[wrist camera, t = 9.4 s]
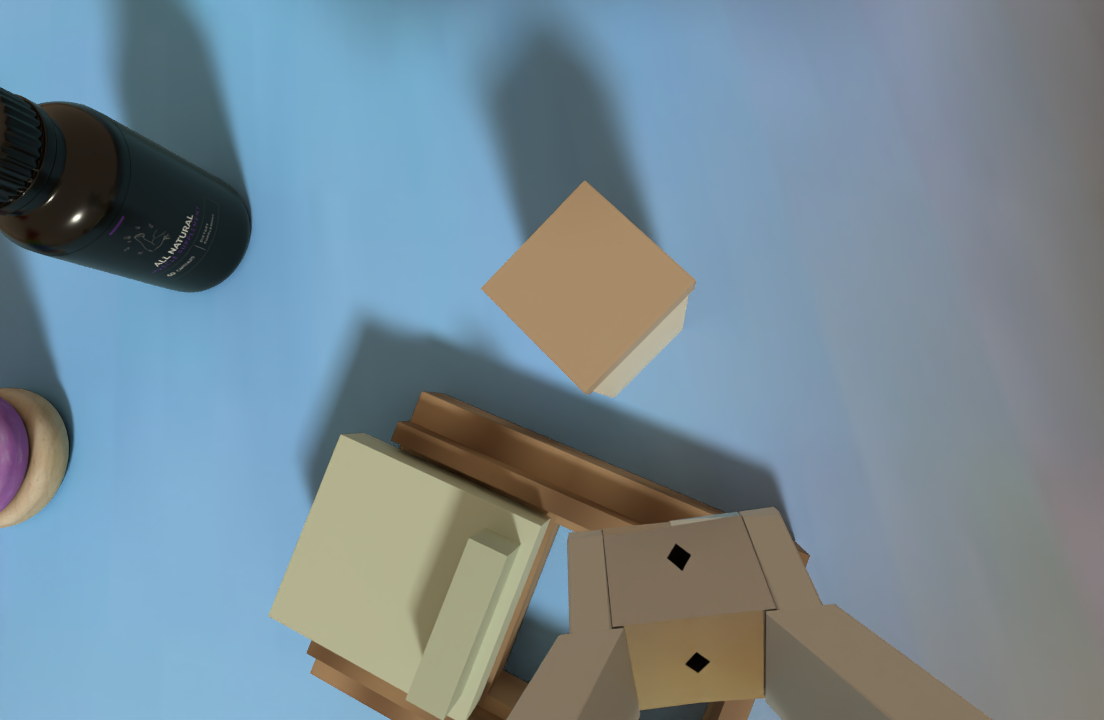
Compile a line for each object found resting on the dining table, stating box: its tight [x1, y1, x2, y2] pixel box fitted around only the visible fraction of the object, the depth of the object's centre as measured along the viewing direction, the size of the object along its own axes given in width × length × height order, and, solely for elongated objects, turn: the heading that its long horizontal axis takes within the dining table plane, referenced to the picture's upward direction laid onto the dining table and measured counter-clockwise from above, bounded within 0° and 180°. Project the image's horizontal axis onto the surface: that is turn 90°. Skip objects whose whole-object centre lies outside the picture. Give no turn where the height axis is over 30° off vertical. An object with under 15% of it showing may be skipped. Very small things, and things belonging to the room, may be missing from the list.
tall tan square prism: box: [481, 180, 696, 398], centre depth 23 cm, size 5×5×10 cm
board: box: [307, 391, 810, 720], centre depth 26 cm, size 18×14×4 cm
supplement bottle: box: [0, 87, 250, 292], centre depth 27 cm, size 7×7×12 cm
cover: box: [268, 433, 551, 720], centre depth 24 cm, size 10×8×4 cm
